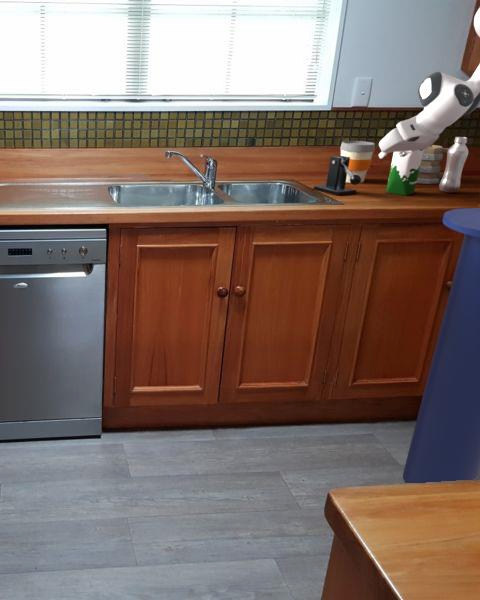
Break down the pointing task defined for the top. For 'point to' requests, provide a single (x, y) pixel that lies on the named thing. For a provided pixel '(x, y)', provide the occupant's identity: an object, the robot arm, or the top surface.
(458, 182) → the silver water bottle
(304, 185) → the top surface
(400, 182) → the milk carton
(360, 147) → the reusable coffee cup
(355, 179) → the tap lever
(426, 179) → the tankard
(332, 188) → the black lever switch stand
